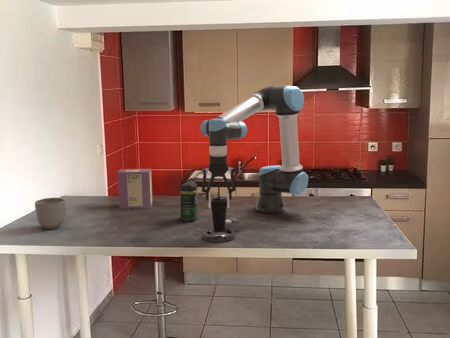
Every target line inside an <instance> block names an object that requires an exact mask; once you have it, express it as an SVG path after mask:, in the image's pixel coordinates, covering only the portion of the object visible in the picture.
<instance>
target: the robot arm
mask: <svg viewBox="0 0 450 338" xmlns="http://www.w3.org/2000/svg"><path fill="white" fill-rule="evenodd" d="M304 104H305V97H304V93H303V91H302V90H301V89H300V88H299V87H298V86H293V85H269V86H266V87H264V88H261V89H259V90H258V91H255V92H253V93H252V94H250V95H249V96H248V98H247V99H246V100H244V101H242V102H240V103H239V104H237V105H235V106H233V107H232V108H230V109H228V110H226V111H225V112H224V113H221V114H220V115H218V116H216V117H214V118H210V119H205V120H203V121H202V123H200V132H201V134H202V135H203V136H204V137H208V140H209V142H208V149H209V150H208V151H209V159H208V160H209V165H208V167H207V168H202V173H203V175H202V183H201V192H202V193H205V200H206V202H207V201H208V208H209V209H212V208H211V198H212V197H211V192H210V190H211V188H212V185H213V182H214V180H215V179H216V178H222V179H223V181H224V183H225V187H226V189H227V191H226V198H227V200H228V201H227V209H229V208H230V201H231V200H232V197H233V196H232V194H233V192H236V190H237V189H236V184H235V183H236V182H235V175H234V174H235V169H234V167H229V166H228V155H227V154H228V145H227V144H228V141H231V140H240V139H244V138H245V137H246V135H247V134H248V127H247V124H246V123H245V122H243V121H244V120H247V119H248V118H250V117H251V116H252V115H254V114H256V113H261V112H263V111H267V110H275V112H274V113H275V116H276V117H278V122H279V133H280V134H279V135H280V136H279V137H280V151H281V165H279V164H277V165H275V164H274V165H266V166H263V167H261V168H259V175H258V183H259V191H258V192H259V196H258V198H257V201H256V204H255V208H256V209H255V211H257V212H261V213H267V214H268V213H269V214H270V213H271V214H275V213H281V212H284V211H285V210H286V204H285V201H284V198H283V195H282V193H285V194H290V195H293V196H294V195H297V196H298V195H302V194H303V193H304V192H305V191H306V189H307V187H308V186H309V175H308V174H307V172H305V171H304V166H303V165H302V164H300V151H299V150H300V149H299V146H300V145H299V135H298V134H299V132H298V119H297V118H298V116H299V115H300V113H301V110H302V109H303V108H304ZM209 172H210V173H211V176H210V179H209V182H208V183H207V186H206V181H207V175H208V173H209ZM226 173H229V174H230V181H231V185H230V184H229V181H228V179H227V176H226ZM230 186H231V187H230Z"/></svg>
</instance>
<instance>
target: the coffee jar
mask: <svg viewBox="0 0 450 338" xmlns="http://www.w3.org/2000/svg"><path fill="white" fill-rule="evenodd" d="M179 192H180V221H183V222H194V221H196V220H197V219H198V217H199V216H198V215H199V213H198V212H199V211H198V184H197V183H196V182H195V181H186V182H185V183H183V184H180V187H179Z"/></svg>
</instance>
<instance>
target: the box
mask: <svg viewBox="0 0 450 338" xmlns="http://www.w3.org/2000/svg"><path fill="white" fill-rule="evenodd" d="M152 180H153V179H152V168H125V169H123V168H121V169H120V168H119V170H118V171H117V187H118V189H117V190H118V204H119V206H118V207H119V210H132V209H131V208H134V209H133V210H136V209H137V210H138V209H139V210H141V209H152V206H153V183H152ZM122 208H123V209H122Z"/></svg>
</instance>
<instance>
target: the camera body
mask: <svg viewBox="0 0 450 338" xmlns="http://www.w3.org/2000/svg"><path fill="white" fill-rule="evenodd" d="M225 228H229V229H232V230H234V231H235V232H238V231H240V221H239V219H237V218H236V217H234V216H233V217H229V218H228V219H226V220H225Z"/></svg>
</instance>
